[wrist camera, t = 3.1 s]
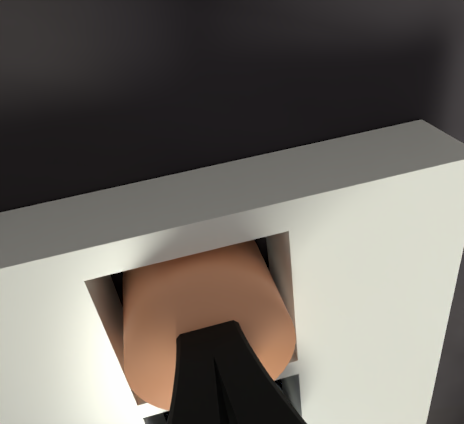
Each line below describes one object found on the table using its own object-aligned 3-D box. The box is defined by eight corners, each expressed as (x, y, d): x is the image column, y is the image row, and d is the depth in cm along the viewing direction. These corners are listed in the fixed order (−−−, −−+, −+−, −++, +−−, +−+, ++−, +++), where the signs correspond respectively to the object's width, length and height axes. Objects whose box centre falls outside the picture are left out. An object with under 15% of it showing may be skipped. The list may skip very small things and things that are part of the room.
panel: (383, 441, 21) (410, 494, 19) (93, 532, 19) (90, 599, 17) (421, 119, 12) (483, 155, 10) (-120, 239, 10) (-178, 310, 8)
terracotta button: (266, 306, 14) (299, 386, 11) (142, 339, 13) (147, 430, 11) (254, 200, 12) (291, 271, 9) (104, 235, 11) (100, 320, 9)
